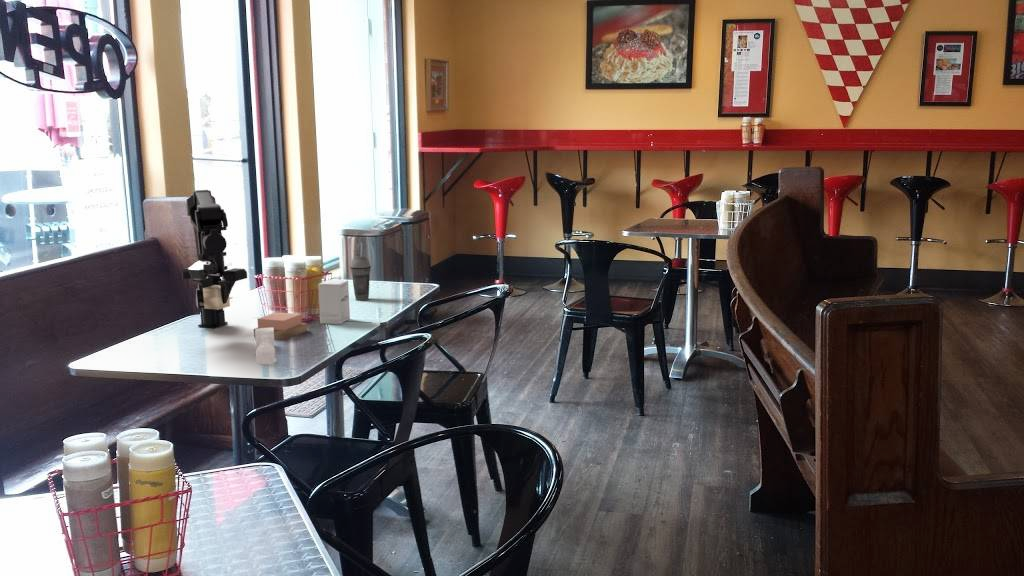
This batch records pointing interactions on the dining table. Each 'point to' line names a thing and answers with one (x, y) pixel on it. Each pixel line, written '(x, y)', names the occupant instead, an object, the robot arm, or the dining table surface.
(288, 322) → the terracotta top slab
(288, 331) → the walnut base slab
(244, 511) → the dining table surface
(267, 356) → the container set
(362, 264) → the beverage cup
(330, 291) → the supplement box
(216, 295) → the birch cube
